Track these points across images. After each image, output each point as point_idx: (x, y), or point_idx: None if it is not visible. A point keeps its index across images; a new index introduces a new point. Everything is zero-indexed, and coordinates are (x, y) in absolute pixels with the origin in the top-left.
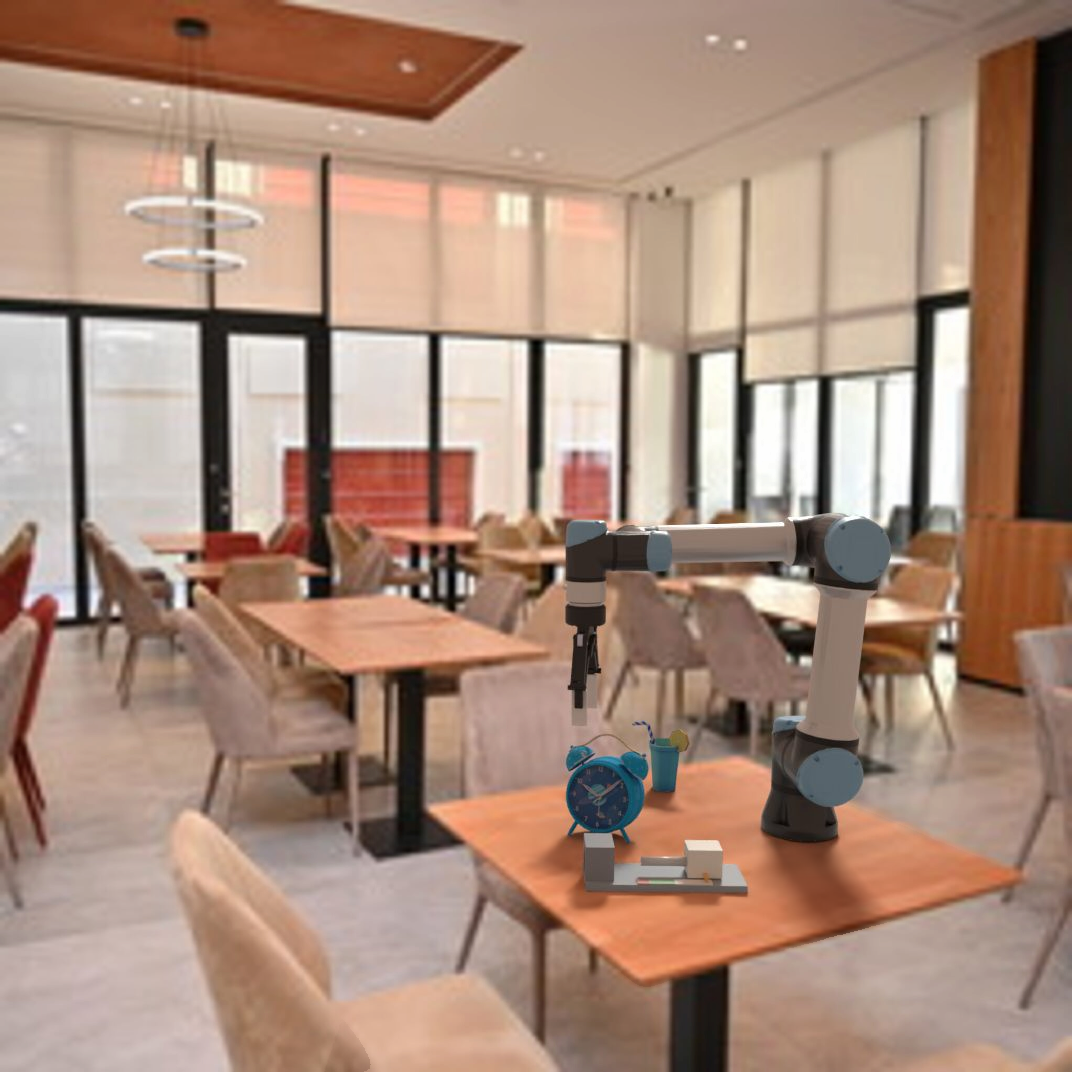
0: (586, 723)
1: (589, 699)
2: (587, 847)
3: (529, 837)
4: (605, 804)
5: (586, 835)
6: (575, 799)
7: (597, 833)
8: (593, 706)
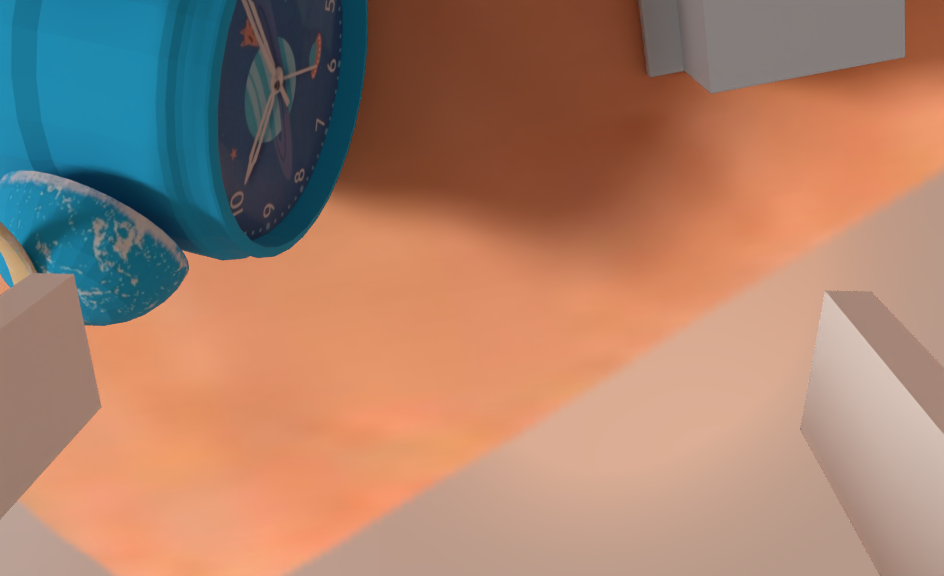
0: (879, 303)
1: (39, 393)
2: (904, 49)
3: (369, 314)
4: (295, 40)
5: (741, 76)
6: (282, 195)
7: (709, 26)
8: (68, 315)
